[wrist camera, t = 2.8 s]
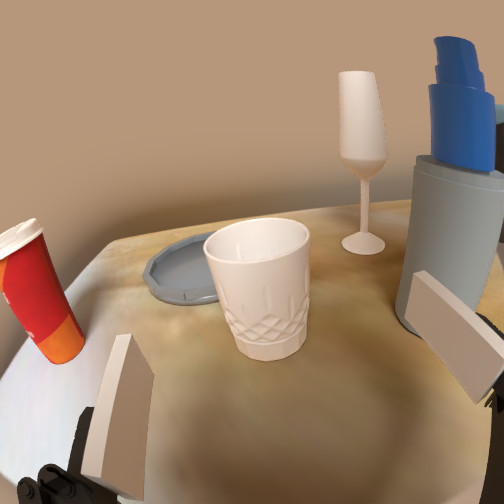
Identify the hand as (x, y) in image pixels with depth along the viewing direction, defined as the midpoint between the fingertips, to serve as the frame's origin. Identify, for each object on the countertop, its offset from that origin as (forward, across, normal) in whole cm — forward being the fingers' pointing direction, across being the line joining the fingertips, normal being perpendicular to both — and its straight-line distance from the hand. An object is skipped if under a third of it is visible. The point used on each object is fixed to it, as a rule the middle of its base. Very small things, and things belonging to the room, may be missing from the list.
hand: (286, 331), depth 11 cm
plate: (+26, -5, -9) cm, 28 cm away
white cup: (+10, 0, -10) cm, 14 cm away
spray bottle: (+6, +17, -9) cm, 20 cm away
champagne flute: (+23, +17, -9) cm, 30 cm away
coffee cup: (+12, -24, -10) cm, 28 cm away
